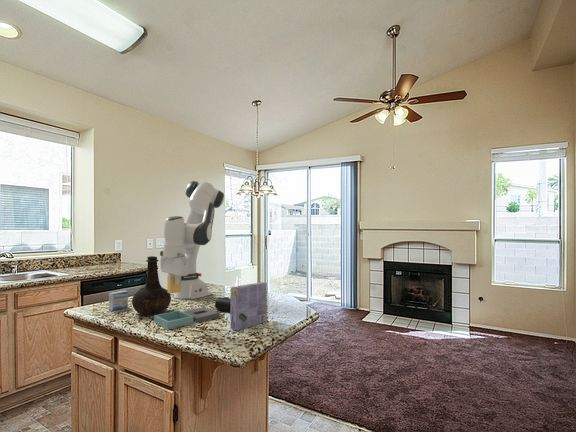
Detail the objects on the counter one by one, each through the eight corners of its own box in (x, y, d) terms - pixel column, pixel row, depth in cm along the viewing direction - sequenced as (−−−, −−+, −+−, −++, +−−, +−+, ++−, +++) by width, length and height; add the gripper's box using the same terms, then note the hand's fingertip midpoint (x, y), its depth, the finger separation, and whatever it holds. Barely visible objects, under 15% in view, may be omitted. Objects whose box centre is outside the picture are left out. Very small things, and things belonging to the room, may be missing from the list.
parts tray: (179, 317, 147) (179, 310, 147) (193, 324, 137) (193, 316, 137) (154, 323, 139) (154, 315, 139) (167, 330, 129) (167, 322, 129)
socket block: (204, 312, 156) (204, 307, 156) (219, 318, 146) (219, 312, 146) (181, 317, 148) (181, 311, 148) (196, 323, 138) (196, 318, 138)
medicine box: (112, 311, 159) (112, 293, 159) (108, 309, 162) (108, 292, 162) (128, 307, 165) (128, 291, 165) (124, 306, 168) (124, 290, 168)
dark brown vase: (156, 306, 167) (156, 254, 168) (178, 311, 158) (179, 255, 159) (123, 314, 152) (124, 257, 152) (147, 320, 143) (147, 259, 143)
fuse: (178, 290, 141) (178, 273, 141) (181, 291, 139) (181, 273, 139) (167, 292, 137) (167, 274, 138) (170, 293, 136) (170, 275, 136)
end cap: (214, 312, 157) (214, 298, 157) (223, 308, 163) (223, 295, 163) (231, 314, 152) (231, 300, 152) (239, 311, 159) (239, 297, 159)
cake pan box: (261, 318, 145) (261, 280, 146) (269, 320, 142) (269, 281, 143) (229, 329, 131) (229, 287, 131) (237, 332, 127) (237, 288, 128)
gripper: (192, 253, 134) (192, 286, 133) (171, 251, 148) (171, 280, 148) (178, 254, 129) (178, 288, 129) (158, 251, 144) (157, 282, 143)
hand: (174, 284), depth 138 cm, fingers closed on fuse, 3 cm apart
